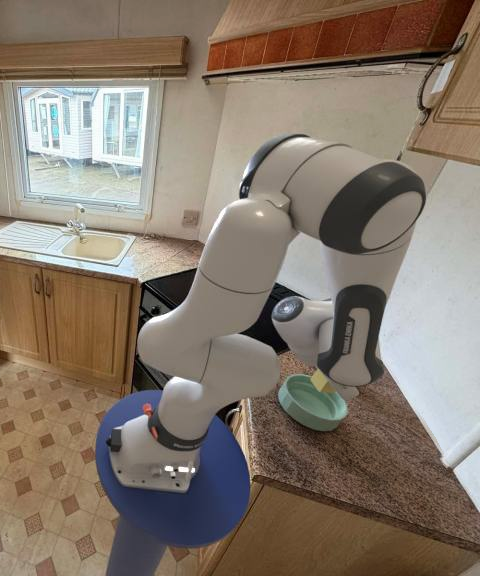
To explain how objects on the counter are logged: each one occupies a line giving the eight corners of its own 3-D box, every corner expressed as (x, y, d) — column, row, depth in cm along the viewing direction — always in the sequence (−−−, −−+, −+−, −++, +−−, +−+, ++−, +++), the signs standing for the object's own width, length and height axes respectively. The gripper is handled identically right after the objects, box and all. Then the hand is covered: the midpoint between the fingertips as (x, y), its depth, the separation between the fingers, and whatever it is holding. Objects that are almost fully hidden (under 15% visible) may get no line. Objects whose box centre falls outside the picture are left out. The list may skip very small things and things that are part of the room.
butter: (319, 392, 81) (334, 371, 77) (310, 379, 85) (323, 359, 80) (334, 393, 81) (350, 372, 77) (324, 380, 85) (339, 359, 80)
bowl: (300, 434, 81) (309, 422, 78) (266, 387, 93) (273, 375, 90) (351, 430, 83) (362, 417, 80) (311, 385, 95) (319, 372, 92)
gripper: (356, 374, 65) (375, 404, 71) (301, 314, 82) (320, 342, 88) (326, 387, 67) (346, 415, 73) (279, 326, 84) (298, 353, 90)
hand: (331, 375), depth 81 cm, fingers closed on butter, 4 cm apart
